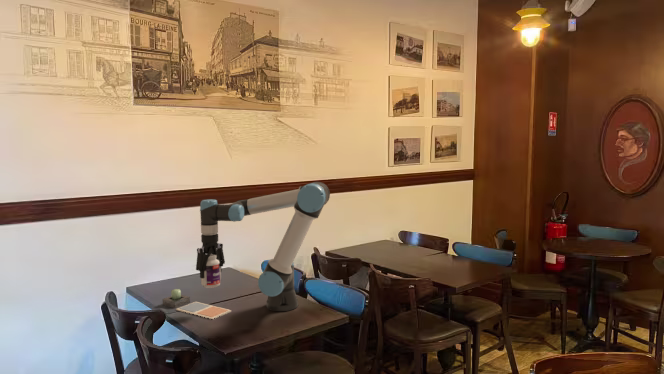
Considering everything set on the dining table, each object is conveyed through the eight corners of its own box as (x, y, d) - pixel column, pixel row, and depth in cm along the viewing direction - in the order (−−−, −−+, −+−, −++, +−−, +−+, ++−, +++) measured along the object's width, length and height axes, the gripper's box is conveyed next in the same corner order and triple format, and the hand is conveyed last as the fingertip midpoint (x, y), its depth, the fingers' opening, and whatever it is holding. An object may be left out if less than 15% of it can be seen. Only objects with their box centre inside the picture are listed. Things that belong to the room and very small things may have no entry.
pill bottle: (215, 289, 214) (214, 257, 213) (199, 288, 216) (197, 257, 214) (223, 283, 222) (222, 253, 221) (207, 283, 224) (206, 253, 222)
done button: (182, 297, 234) (182, 289, 233) (175, 300, 230) (175, 292, 230) (176, 296, 236) (176, 288, 236) (169, 298, 232) (169, 290, 232)
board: (231, 311, 222) (231, 309, 222) (212, 319, 212) (212, 318, 212) (195, 302, 235) (195, 301, 235) (176, 310, 225) (176, 308, 224)
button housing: (190, 302, 235) (189, 296, 234) (175, 308, 227) (174, 302, 227) (177, 299, 240) (177, 293, 239) (162, 305, 232) (162, 299, 232)
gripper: (220, 229, 227) (222, 275, 229) (185, 236, 210) (187, 287, 212) (232, 230, 223) (233, 277, 225) (197, 238, 206) (199, 289, 208)
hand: (211, 282), depth 219 cm, fingers closed on pill bottle, 8 cm apart
